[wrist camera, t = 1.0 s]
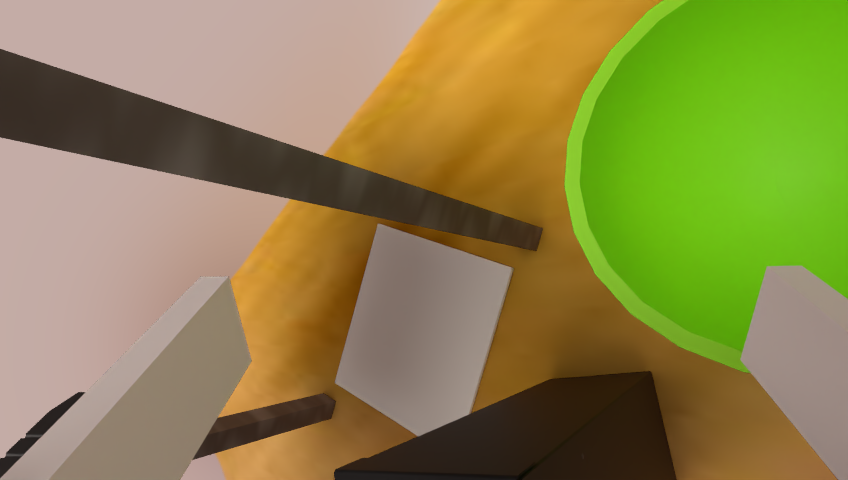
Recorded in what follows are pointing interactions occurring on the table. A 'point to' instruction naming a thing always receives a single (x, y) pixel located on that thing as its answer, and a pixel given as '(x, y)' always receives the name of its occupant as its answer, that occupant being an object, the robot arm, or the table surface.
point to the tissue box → (540, 437)
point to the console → (323, 185)
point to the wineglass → (714, 162)
